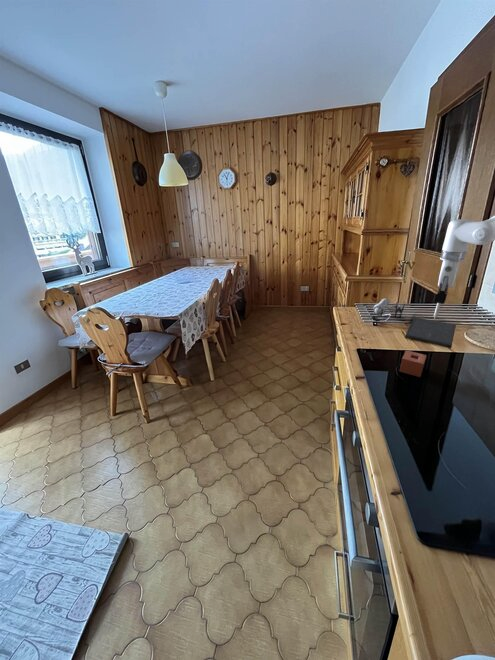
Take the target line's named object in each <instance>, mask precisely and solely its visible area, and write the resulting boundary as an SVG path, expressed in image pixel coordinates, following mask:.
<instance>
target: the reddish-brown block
mask: <svg viewBox="0 0 495 660" xmlns="http://www.w3.org/2000/svg"><path fill="white" fill-rule="evenodd" d="M426 360H427V354H423V353H419V352H414V351H413V350H412V351H411V350H407V349H406V350H405V351H404V353H403V356H402V358H401V363H400V367H399V371H398V372H400V373H403V374H407V375H411V376H415V377H418V378H421V377H422V373H423V371H424V367H425V364H426Z"/></svg>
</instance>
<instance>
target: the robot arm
mask: <svg viewBox="0 0 495 660" xmlns="http://www.w3.org/2000/svg"><path fill="white" fill-rule="evenodd" d="M494 241H495V215H493V216H492V217H490V218H489V219H486V220H482V221H474V220H473V219H463V218H461V219H458V218H457V219H452V220H450V222H449V223H448V226H447V229H446V232H445V237H444V241H443V244H442V248H441V252H440V255H439V260H440V261H442V264H441V267H440V272H439V276H438V282H437V286H438V290H437V293H436V297H435V300H434V303H436V304H437V303H441V305H442V304H445V303H446V300H447V297H448V294H449V293H448V291H449V288H450V289H453V288H454V286H455V282H456V279H457V276H458V272H459V268H460V265H461V263H462V262H464V261H465V259H466V255H467V252H468V248H469V246H470V244H471V245H478V246H482V245H483V246H484V245H488V244H490V243H492V242H494Z"/></svg>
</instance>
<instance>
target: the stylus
mask: <svg viewBox="0 0 495 660" xmlns="http://www.w3.org/2000/svg"><path fill="white" fill-rule="evenodd" d="M441 305H442V303H436V307H435V310H434V313H433V317H434V318H433V319H434V320H437V318H438V316H439V312H440V310H441Z"/></svg>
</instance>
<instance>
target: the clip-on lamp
mask: <svg viewBox="0 0 495 660" xmlns="http://www.w3.org/2000/svg"><path fill="white" fill-rule="evenodd" d="M389 304H390V300H389V299H388V298H382V299H381V300H380V301H379V303H376V304H375V305H374V306H373V310H372V311H373V312H374V314H375V315H377V316H382V317H384V316H388V318H387V319H385V320H383V321H382V323H385V322H386V321H387V320H389V319H390V318H391V316H392V314H391V313H392V312H393V311H394V312H395V313H394V318H397V314H398V312H399V318H400V317H401V318H402V314H403V311H404V308H405V306H406V303H405V302H404V303H403V304H399V303H398V302H396V303H395V305H392V307H391V306H389ZM386 309H387V310H388V312H387V313H385V312H386ZM390 312H391V313H390ZM369 317H370V318H371V319H372V320H373V321H375V322H377V321H381V319H379V318H377V317H375V316H373V315H372V316H369Z"/></svg>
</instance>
